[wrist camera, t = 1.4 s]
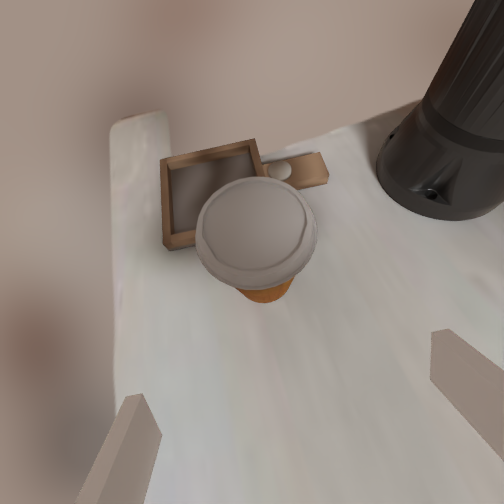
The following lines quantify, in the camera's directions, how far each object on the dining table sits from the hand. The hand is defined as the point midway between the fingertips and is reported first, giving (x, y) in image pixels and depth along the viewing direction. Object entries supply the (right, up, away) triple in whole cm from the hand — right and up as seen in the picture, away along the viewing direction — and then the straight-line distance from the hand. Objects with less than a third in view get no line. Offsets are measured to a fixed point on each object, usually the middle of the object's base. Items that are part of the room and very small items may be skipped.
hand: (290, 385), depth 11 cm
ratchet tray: (-3, +15, +24) cm, 28 cm away
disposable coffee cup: (0, +3, +18) cm, 18 cm away
